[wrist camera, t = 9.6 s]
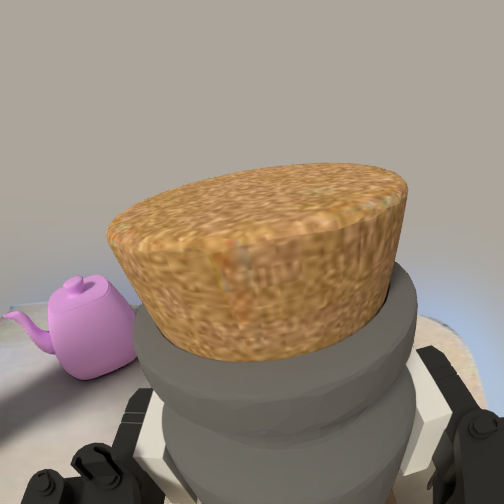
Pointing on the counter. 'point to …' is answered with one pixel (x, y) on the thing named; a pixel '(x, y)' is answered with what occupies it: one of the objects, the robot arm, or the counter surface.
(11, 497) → the counter surface
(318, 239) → the bottle
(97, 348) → the teapot
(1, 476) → the counter surface
